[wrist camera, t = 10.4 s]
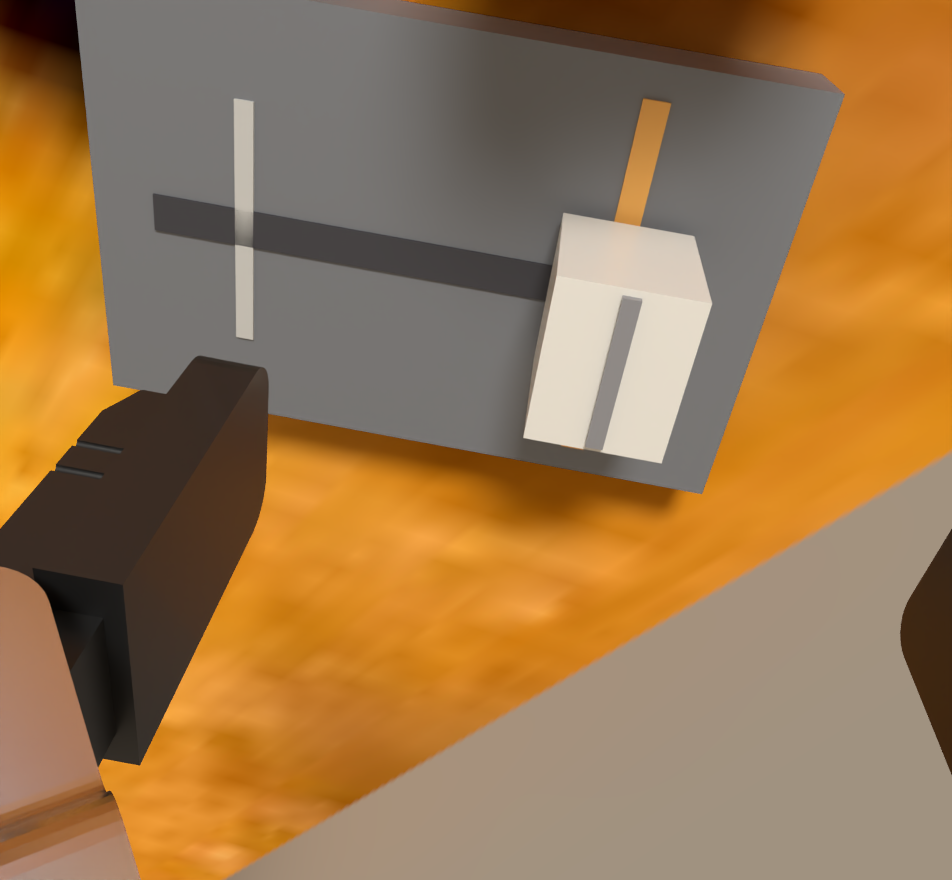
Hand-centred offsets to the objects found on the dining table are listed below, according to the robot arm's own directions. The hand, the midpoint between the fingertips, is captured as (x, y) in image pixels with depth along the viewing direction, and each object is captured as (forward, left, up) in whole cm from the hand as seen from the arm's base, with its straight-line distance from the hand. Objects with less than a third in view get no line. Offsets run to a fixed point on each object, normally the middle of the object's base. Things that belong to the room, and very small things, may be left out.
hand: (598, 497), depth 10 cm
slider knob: (+2, -5, -18) cm, 19 cm away
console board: (-4, -5, -21) cm, 22 cm away
